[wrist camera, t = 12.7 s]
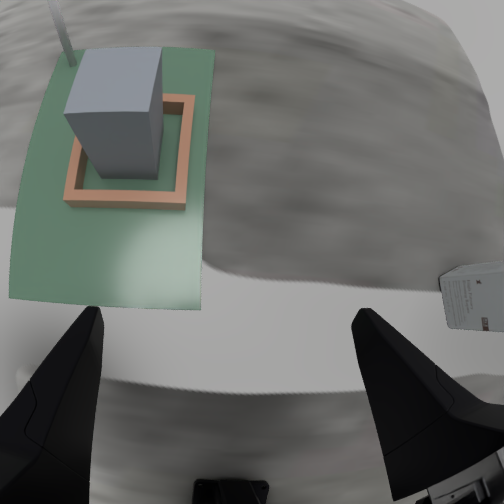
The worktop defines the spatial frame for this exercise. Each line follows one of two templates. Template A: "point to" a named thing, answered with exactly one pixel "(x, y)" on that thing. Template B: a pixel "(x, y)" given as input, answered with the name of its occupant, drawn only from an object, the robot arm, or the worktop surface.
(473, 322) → the skincare box
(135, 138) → the grey block
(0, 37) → the worktop surface
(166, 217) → the green base plate
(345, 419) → the worktop surface
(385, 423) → the robot arm
